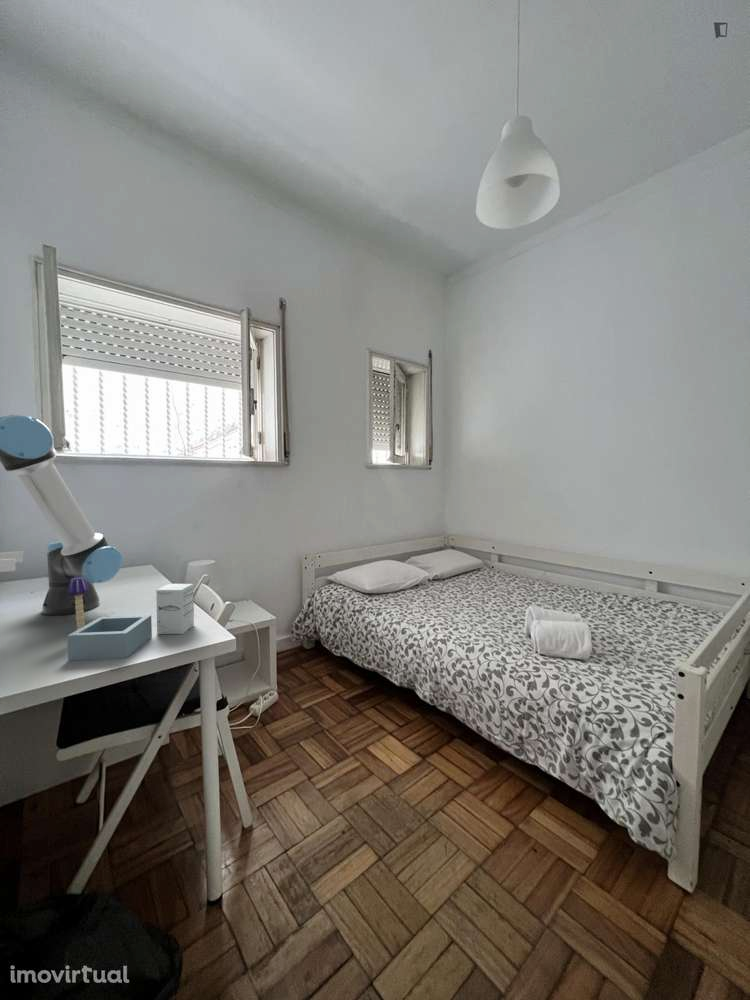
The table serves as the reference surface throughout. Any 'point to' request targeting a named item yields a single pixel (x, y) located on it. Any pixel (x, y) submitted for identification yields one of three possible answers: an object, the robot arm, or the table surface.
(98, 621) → the blue-gray open box
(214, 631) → the table surface
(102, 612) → the table surface
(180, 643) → the table surface
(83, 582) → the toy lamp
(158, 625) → the supplement box
